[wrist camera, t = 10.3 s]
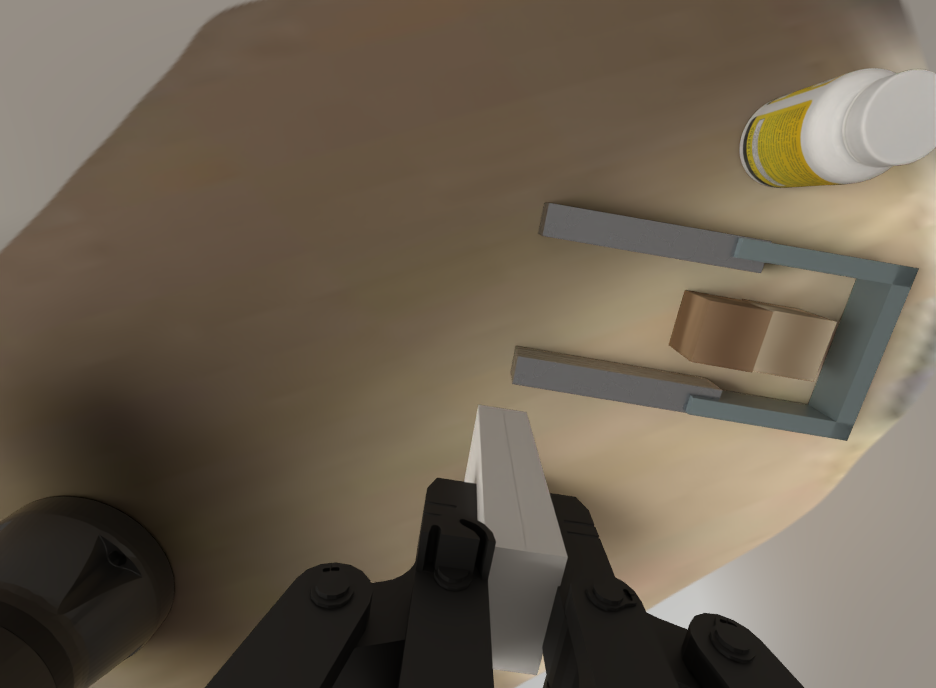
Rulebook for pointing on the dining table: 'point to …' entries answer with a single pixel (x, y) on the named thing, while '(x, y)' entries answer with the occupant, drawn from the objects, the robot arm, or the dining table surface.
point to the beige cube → (793, 342)
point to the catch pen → (848, 355)
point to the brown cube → (719, 331)
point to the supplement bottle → (842, 129)
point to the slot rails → (611, 376)
